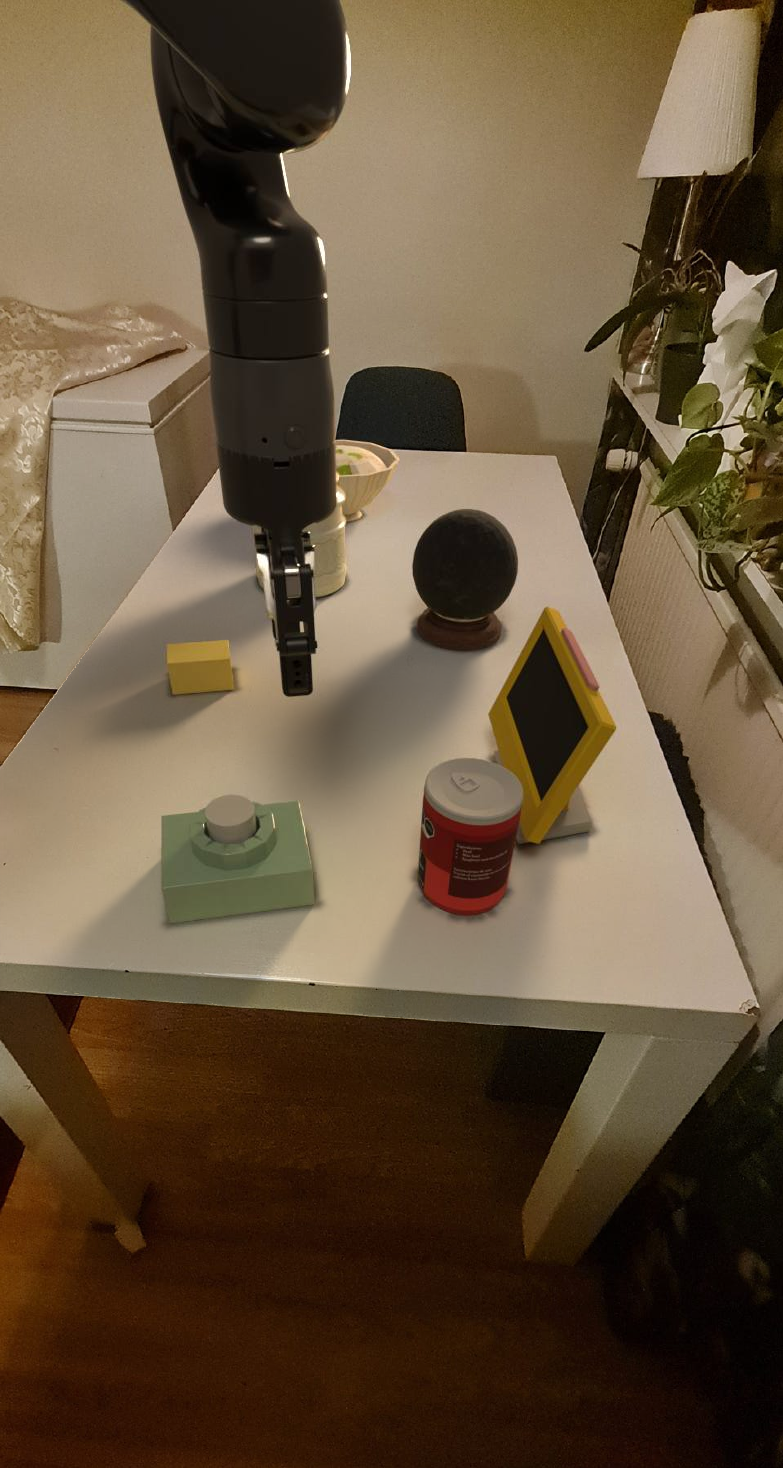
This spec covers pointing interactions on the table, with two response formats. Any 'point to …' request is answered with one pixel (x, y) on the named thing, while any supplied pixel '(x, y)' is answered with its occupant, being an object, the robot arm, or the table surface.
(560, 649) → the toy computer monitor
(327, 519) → the jar
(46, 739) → the table surface
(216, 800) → the grey push button
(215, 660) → the sponge
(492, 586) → the sphere on stand
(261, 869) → the push button box
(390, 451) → the bowl
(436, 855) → the canned food
